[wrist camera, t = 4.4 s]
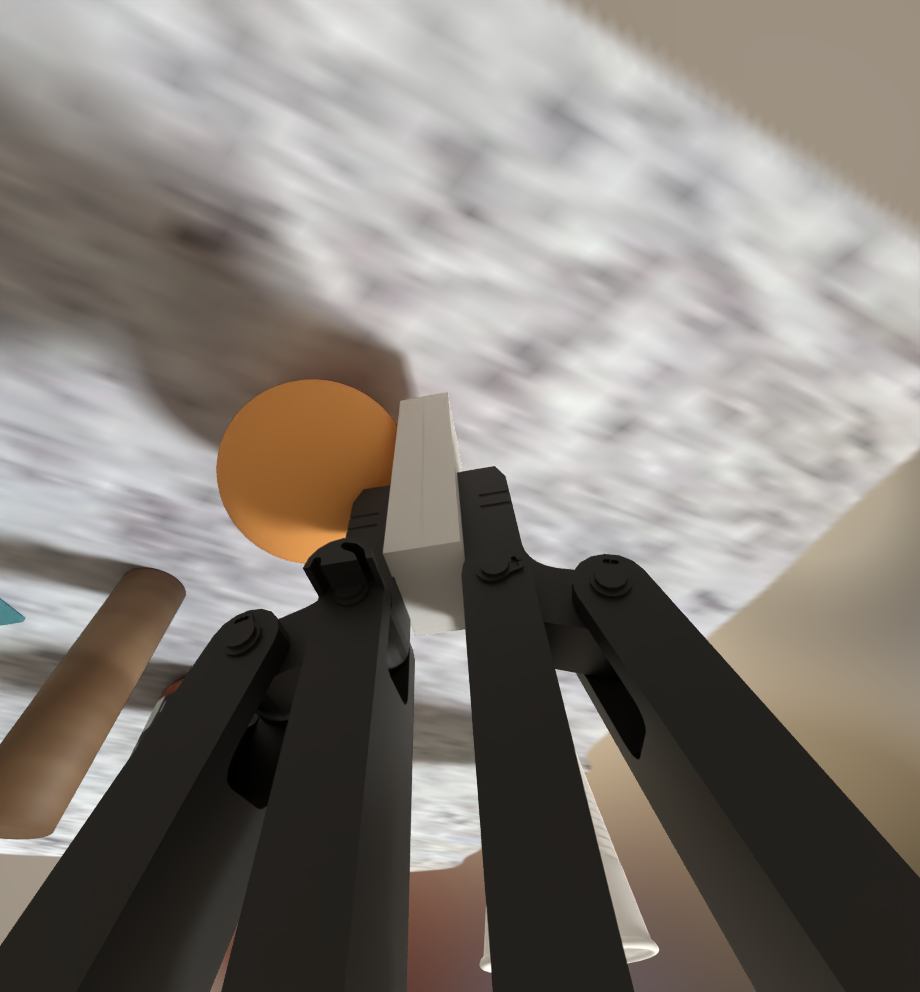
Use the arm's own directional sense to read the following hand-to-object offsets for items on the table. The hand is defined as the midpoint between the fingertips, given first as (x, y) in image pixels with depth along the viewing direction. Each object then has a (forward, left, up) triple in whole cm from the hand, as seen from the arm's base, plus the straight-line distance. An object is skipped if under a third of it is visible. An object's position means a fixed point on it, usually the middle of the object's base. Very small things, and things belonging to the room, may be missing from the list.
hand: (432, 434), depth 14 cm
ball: (-3, 0, +1) cm, 4 cm away
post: (-14, -6, -2) cm, 16 cm away
